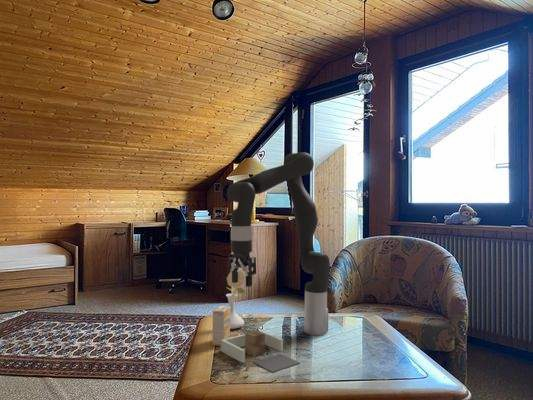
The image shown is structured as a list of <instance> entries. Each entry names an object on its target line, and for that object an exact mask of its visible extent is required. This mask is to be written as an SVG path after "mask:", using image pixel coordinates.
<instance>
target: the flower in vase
mask: <svg viewBox="0 0 533 400" xmlns="http://www.w3.org/2000/svg"><path fill="white" fill-rule="evenodd" d="M237 272H238V282H237V283H232V272H231V271H230V272H229V273H228V276H226V282H227V285H228V286H230V287H232V288H234V289H235V290H234V291H233V290H232V289H231V288H229V287H227V289H228V290H229V291H232V292H233V293H227V294H225V297H226V298H227V301H228V306H230V330H234V329H238V328H241V327H243V326H244V325H245V321H244V319H243V318H242V317H241V316H240V315H238V314H237V313H236V312H235V301H236V298H237V297H238V294H244V293H246V291H245V289H244V288H243V287H242V286H243V284H244V282H246V274H245V272H244V271H243V270H240V269H238V271H237ZM236 291H237V293H238V294H237V293H236Z"/></svg>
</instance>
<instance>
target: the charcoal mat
mask: <svg viewBox="0 0 533 400" xmlns="http://www.w3.org/2000/svg"><path fill="white" fill-rule="evenodd" d="M300 363H301V362H299V361H297V360H296V359H292V358H290V357H289V356H286V355H284V354H282V353H278V354H275V355H271V356H268V357H265V358H261V359H258V360H255V361H253V364H255V365H257V366H259V367H260V368H262V369H264V370H267V371H269V372H270V373H272V374H273V373H275V372H278V371H282V370H284V369H287V368H291V367H294V366H297V365H299V364H300Z"/></svg>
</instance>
